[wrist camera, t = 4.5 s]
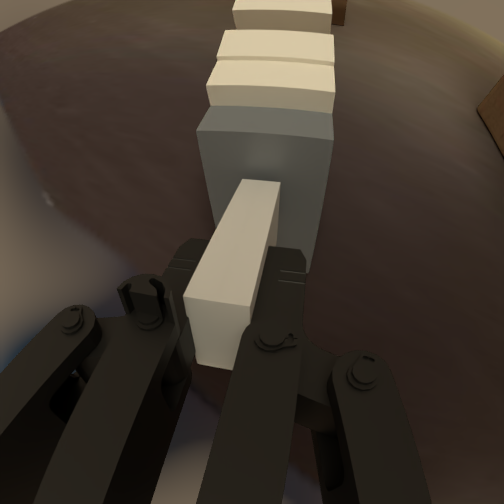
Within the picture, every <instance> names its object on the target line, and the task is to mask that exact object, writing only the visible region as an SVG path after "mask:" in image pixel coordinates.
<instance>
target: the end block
mask: <svg viewBox="0 0 504 504" xmlns="http://www.w3.org/2000/svg"><path fill="white" fill-rule="evenodd" d="M331 4H332V21H331V24H336V25H343V26H344V19H345V12H346V4H347V0H331Z"/></svg>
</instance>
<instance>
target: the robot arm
mask: <svg viewBox="0 0 504 504" xmlns="http://www.w3.org/2000/svg"><path fill="white" fill-rule="evenodd" d="M280 183H281V182H273V181H262V180H250V179H242V181H241V183H240V184H239V186H238V188H237V190H236V192H235V194H234V196H233V198H232V199H231V201H230V203H229V205H228V207H227V209H226V211H225V213H224V215H223V217H222V219H221V221H220V223H219V224H218V226H217V228H216V230H215V232H214V234H213V236H212V238H211V240H203V239H193V238H191V239H189V240H188V241H187V242H185V243H184V244H183V245H181V246H180V247H179V249H178V250H177V252H176V253H175V255H174V257H173V259H172V260H171V262H170V263H169V265H168V268H166V270H165V272H164V273H163V275H162V277H161V276H158V275H155V274H141V275H137V276H133V277H131V278H129V279H128V280H126V281H124V282H123V283H122V284H121V285H120V286H119V287H118V288H117V291H118V293H119V296H120V298H121V302H122V304H123V307H124V310H125V312H126V315H125V316H121V317H108V318H96V316H95V314H94V312H93V311H92V310H91V309H90V308H89V307H87V306H84V305H73V306H70V307H68V308H65V309H64V310H62V311H61V312H60V313H58V314H57V315H56V316H55V317H54V318H53V319H52V320H51V321H50V322H49V323H48V324H47V325H46V326H45V327H44V328H43V329H42V330H41V331H40V332H39V333H38V334H37V335H36V336H35V337H34V338H33V339H32V340H31V341H30V342H29V343H28V344H27V345H26V346H25V348H23V350H22V351H21V352H20V353H19V354H18V355H17V356H16V357H15V358H14V359H13V360H12V361H11V363H9V365H8V366H7V367H6V368H5V369H4V370H3V371H2V372H1V373H0V504H151V501H152V497H153V494H154V491H155V488H156V485H157V482H158V479H159V476H160V473H161V469H162V467H163V464H164V461H165V458H166V455H167V452H168V449H169V445H170V442H171V439H172V436H173V433H174V431H175V427H176V425H177V422H178V419H179V415H180V413H181V410H182V407H183V404H184V401H185V398H186V395H187V392H188V389H189V386H190V383H191V379H192V372H191V368H190V366H191V364H192V361H193V358H194V355H195V356H196V360H197V364H202V365H207V366H212V367H217V368H223V369H228V370H232V374H231V378H230V381H229V385H228V389H227V393H226V396H225V400H224V404H223V408H222V411H221V415H220V419H219V422H218V426H217V430H216V433H215V437H214V441H213V445H212V449H211V452H210V455H209V459H208V463H207V466H206V470H205V473H204V477H203V481H202V484H201V488H200V491H199V495H198V498H197V502H196V504H281V503H282V498H283V492H284V486H285V480H286V474H287V468H288V461H289V454H290V448H291V440H292V433H293V426H294V422H295V423H298V424H300V425H302V426H305V427H307V428H310V429H311V434H312V440H313V445H314V451H315V457H316V463H317V469H318V476H319V482H320V488H321V495H322V501H323V504H431V499H430V495H429V491H428V487H427V483H426V479H425V476H424V472H423V468H422V465H421V461H420V458H419V454H418V451H417V447H416V444H415V441H414V438H413V434H412V431H411V428H410V425H409V422H408V419H407V416H406V413H405V410H404V407H403V404H402V401H401V398H400V395H399V392H398V389H397V387H396V384H395V381H394V378H393V376H392V373H391V370H390V369H389V367H388V365H387V364H386V362H385V361H384V360H383V359H381V358H380V357H379V356H377V355H376V354H373V353H370V352H368V351H356V350H355V351H351V352H348V353H345V354H344V355H342V356H341V357H339V356H336V355H334V354H331V353H329V352H326V351H324V350H322V349H320V348H318V347H316V346H315V345H314V344H313V343H312V342H310V340H309V339H308V338H307V336H306V335H305V332H304V330H303V323H302V321H303V309H304V295H305V280H306V263H307V260H306V258H305V257H304V255H303V253H302V251H301V249H293V248H284V247H276V242H277V230H278V215H279V200H280ZM74 370H76V372H75V373H74V374H72V372H73V371H74Z"/></svg>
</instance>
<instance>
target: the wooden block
mask: <svg viewBox="0 0 504 504" xmlns="http://www.w3.org/2000/svg"><path fill="white" fill-rule="evenodd" d="M477 110H478V112H479V114H480V116H481V117H482V119H483V121H484V122H485V124H486V126H487V127H488V129H489V131H490V132H491V134H492V136H493V138H494V140H495V141H496V143H497V145H498V147H499V149H500V151H501V153H502V155H503V157H504V75H503V76H502V78H501V79H500V80H499V81H498V83H497V84H496V85H495V86H494V88H493V89H492V90H491V91H490V93H489V94H488V95H487V96H486V98H485V99H484V100H483V101H482V102H481V104H480V105H479V106H478V108H477Z"/></svg>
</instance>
